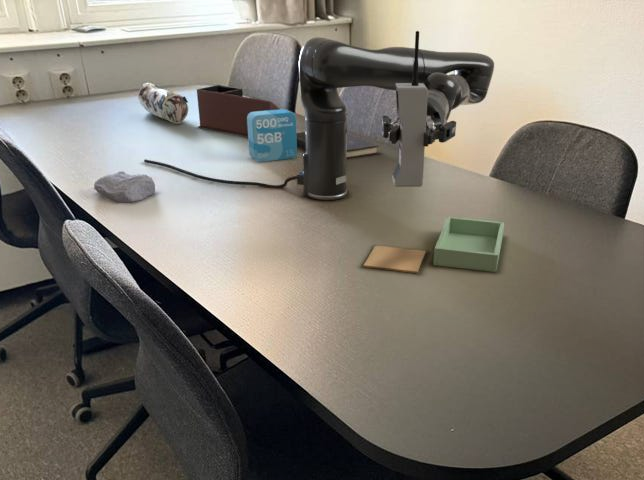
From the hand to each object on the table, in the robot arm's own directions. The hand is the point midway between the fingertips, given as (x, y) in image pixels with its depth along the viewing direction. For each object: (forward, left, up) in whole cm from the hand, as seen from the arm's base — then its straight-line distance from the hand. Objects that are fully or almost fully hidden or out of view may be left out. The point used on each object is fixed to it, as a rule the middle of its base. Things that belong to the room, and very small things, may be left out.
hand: (409, 139), depth 119 cm
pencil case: (-96, +93, -23) cm, 135 cm away
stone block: (-69, +20, -23) cm, 75 cm away
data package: (-47, +59, -23) cm, 79 cm away
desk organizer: (-64, +84, -23) cm, 108 cm away
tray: (+11, +10, -23) cm, 27 cm away
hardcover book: (-35, +74, -23) cm, 85 cm away
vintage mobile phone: (0, +3, -9) cm, 9 cm away
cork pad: (-2, +1, -23) cm, 23 cm away
